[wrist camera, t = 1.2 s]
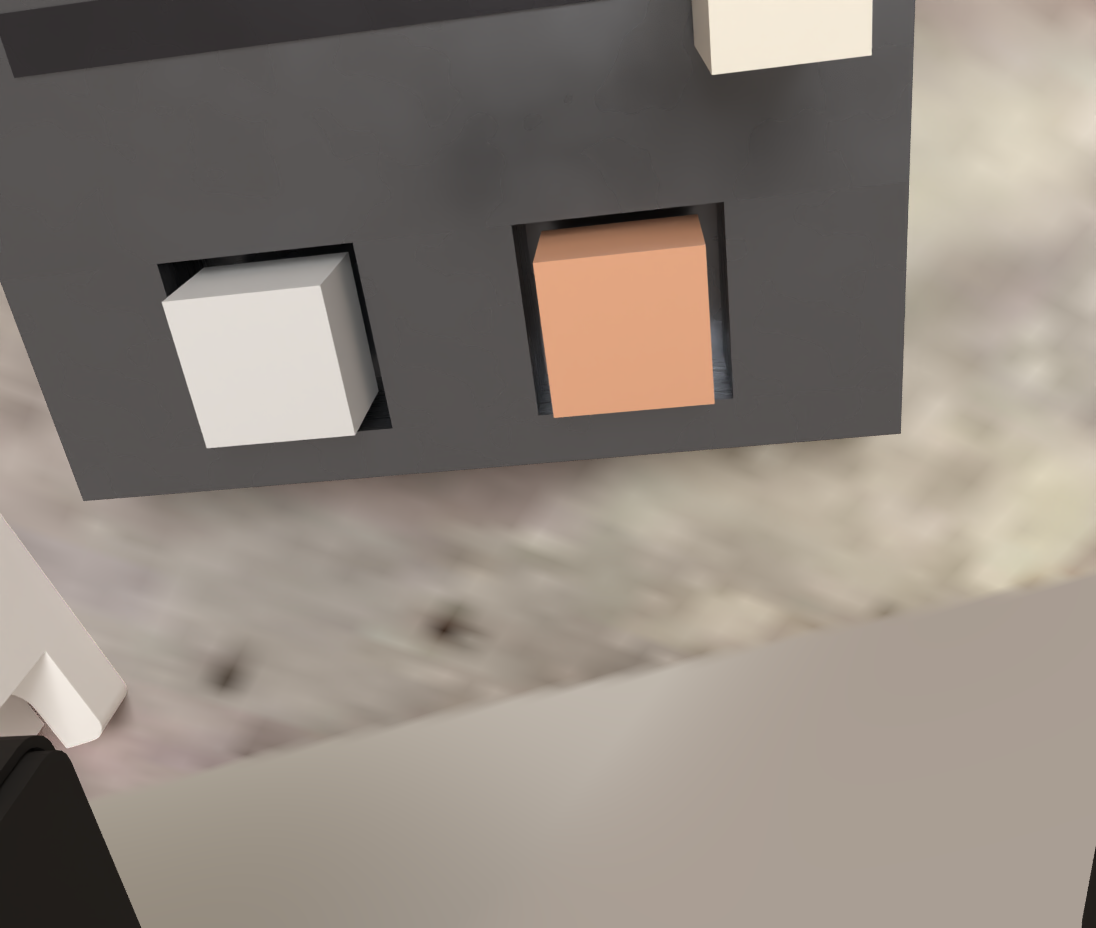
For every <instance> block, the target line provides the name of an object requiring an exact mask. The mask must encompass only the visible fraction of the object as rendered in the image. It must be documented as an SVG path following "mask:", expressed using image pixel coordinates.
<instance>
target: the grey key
mask: <svg viewBox="0 0 1096 928" xmlns="http://www.w3.org/2000/svg"><path fill="white" fill-rule="evenodd" d="M162 305H163V308H164V311H165V315H166V318H167V321H168V324H169V328H170V331H171V334H172V337H173V340H174V344H175V347H176V350H177V353H178V357H179V360H180V363H181V366H182V370H183V373H184V376H185V379H186V383H187V386H188V389H189V392H190V396H191V399H192V402H193V405H194V408H195V412H196V415H197V418H198V421H199V425H200V428H201V431H202V434H203V438H204V441H205V444H206V447H207V448H216V447H227V446H238V445H250V444H261V443H273V442H284V441H296V440H307V439H318V438H330V437H341V436H353V435H356V433H357V431H358V429H359V427H360V425H361V423H362V421H363V420H364V418H365V416H366V414H367V412H368V410H369V408H370V406H371V404H372V402H373V400H374V399H375V397H376V395H377V393H378V386H377V381H376V377H375V372H374V368H373V363H372V358H371V354H370V349H369V345H368V340H367V335H366V331H365V326H364V322H363V317H362V312H361V308H360V303H359V299H358V294H357V290H356V285H355V280H354V276H353V271H352V267H351V262H350V257H349V253H348V252H343V253H334V254H324V255H315V256H306V257H297V258H287V259H278V260H269V261H260V262H251V263H241V264H232V265H223V266H214V267H204V268H203V269H201V270H200V271H199V272H198V273H197V274H195V275H194V276H193V277H192V278H190V279H189V280H188V281H187V282H186V283H184V284H183V285H182V286H181V287H179V288H178V289H177V290H176V291H175V292H173V293H172V294H171V295H170V296H168V297H167V298H166V299H165V300H164V301H162Z"/></svg>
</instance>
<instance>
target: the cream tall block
mask: <svg viewBox="0 0 1096 928" xmlns="http://www.w3.org/2000/svg"><path fill="white" fill-rule="evenodd" d="M872 2H873V0H692V14H693V31H694V46H695V48H696V49H697V51H698V53H699V54H700V56H701V58H702V59H703V61H704V63H705V64H706V66H707V68H708V69H709V71H710V73H711V74H712V75H716V74H724V73H732V72H741V71H749V70H757V69H765V68H773V67H781V66H789V65H797V64H805V63H813V62H821V61H830V60H838V59H846V58H854V57H862V56H870V55H872Z"/></svg>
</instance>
